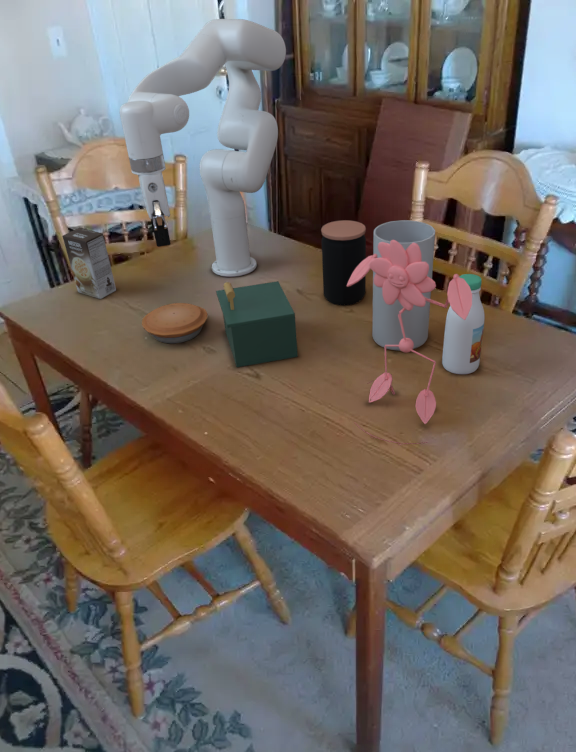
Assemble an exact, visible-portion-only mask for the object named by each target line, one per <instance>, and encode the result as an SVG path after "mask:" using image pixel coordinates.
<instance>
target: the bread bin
mask: <svg viewBox="0 0 576 752" xmlns="http://www.w3.org/2000/svg"><path fill="white" fill-rule="evenodd" d="M222 317H223V324H224V331H225V332H224V333H225V335H226V338H227V341H228V345H229V349H230V351H231V354H232V357H233V360H234V364H235V367H236V368H240V367H241V368H242V367H246V366H247V367H248V366H253V365H259V364H264V363H271V362H275V361H276V362H277V361H282V360H288V359H292V358H298V356H299V355H298V341H297V338H298V337H297V325H296V316H295V317H290V318H284V319H278V320H272V321H266V322H260V323H253V324H247V325H241V326H235V327H229V328H227V325H226V322H225V319H224V315H223V314H222Z"/></svg>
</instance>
